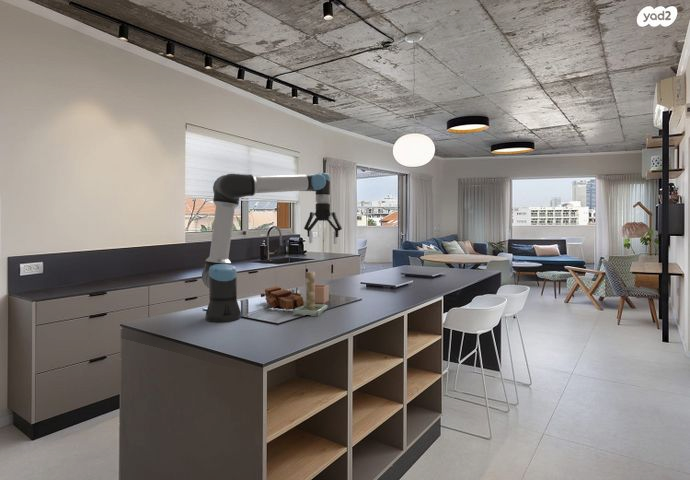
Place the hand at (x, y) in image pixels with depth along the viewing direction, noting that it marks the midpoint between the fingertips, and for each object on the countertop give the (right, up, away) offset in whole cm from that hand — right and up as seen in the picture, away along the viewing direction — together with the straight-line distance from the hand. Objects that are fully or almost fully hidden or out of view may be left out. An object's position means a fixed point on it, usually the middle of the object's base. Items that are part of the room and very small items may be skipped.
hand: (322, 243), depth 225 cm
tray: (-4, -32, -24) cm, 40 cm away
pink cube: (-2, -31, -4) cm, 31 cm away
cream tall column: (-4, -31, -24) cm, 40 cm away
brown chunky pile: (-20, -31, -11) cm, 39 cm away
